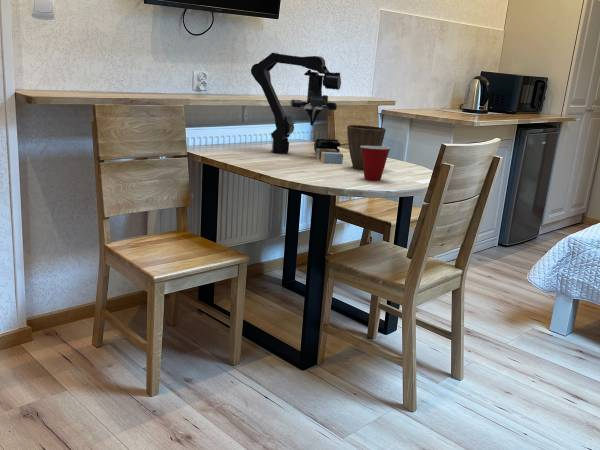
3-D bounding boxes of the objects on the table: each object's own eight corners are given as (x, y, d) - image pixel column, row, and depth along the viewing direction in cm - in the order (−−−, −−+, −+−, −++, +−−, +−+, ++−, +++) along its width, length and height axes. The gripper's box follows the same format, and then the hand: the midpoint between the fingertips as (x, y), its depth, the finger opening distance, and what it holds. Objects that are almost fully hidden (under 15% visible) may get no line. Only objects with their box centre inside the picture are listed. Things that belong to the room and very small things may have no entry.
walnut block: (318, 149, 244) (337, 150, 246) (316, 148, 248) (334, 149, 250) (318, 159, 245) (336, 160, 247) (315, 157, 249) (334, 158, 251)
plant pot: (337, 164, 236) (341, 124, 232) (370, 164, 241) (374, 125, 237) (353, 171, 223) (357, 129, 219) (388, 172, 228) (393, 130, 224)
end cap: (334, 153, 265) (335, 138, 263) (340, 156, 258) (341, 141, 256) (313, 153, 262) (314, 137, 260) (318, 155, 255) (319, 140, 253)
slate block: (323, 153, 236) (343, 154, 237) (321, 151, 240) (340, 152, 241) (322, 163, 237) (342, 164, 238) (320, 161, 241) (339, 162, 242)
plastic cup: (378, 176, 218) (382, 143, 214) (392, 182, 208) (396, 148, 205) (352, 176, 214) (355, 142, 211) (365, 182, 204) (368, 147, 201)
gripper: (295, 87, 235) (292, 126, 239) (341, 90, 238) (337, 129, 243) (291, 85, 246) (288, 123, 250) (335, 88, 249) (331, 126, 253)
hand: (311, 125), depth 249 cm, fingers closed
